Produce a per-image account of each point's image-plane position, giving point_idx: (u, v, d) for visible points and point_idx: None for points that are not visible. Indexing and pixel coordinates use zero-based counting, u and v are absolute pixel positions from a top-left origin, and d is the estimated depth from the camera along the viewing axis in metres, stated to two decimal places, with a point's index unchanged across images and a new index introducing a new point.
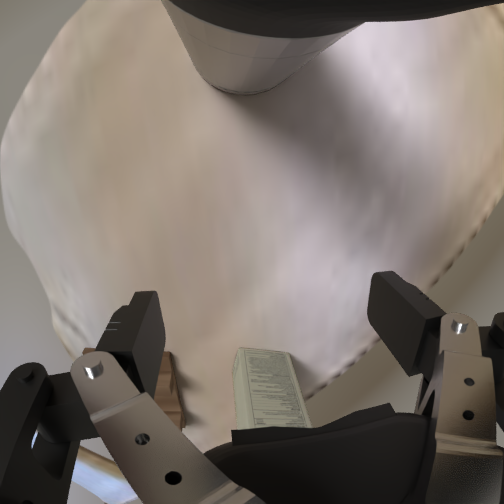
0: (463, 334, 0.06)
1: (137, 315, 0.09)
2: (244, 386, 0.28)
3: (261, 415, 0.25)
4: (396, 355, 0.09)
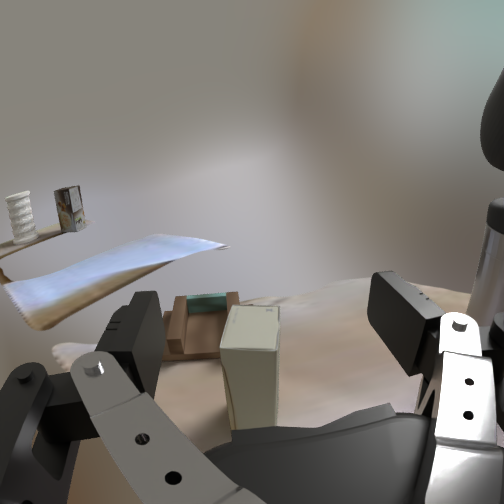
0: (463, 334, 0.06)
1: (137, 315, 0.09)
2: (279, 357, 0.29)
3: None
4: (396, 356, 0.09)
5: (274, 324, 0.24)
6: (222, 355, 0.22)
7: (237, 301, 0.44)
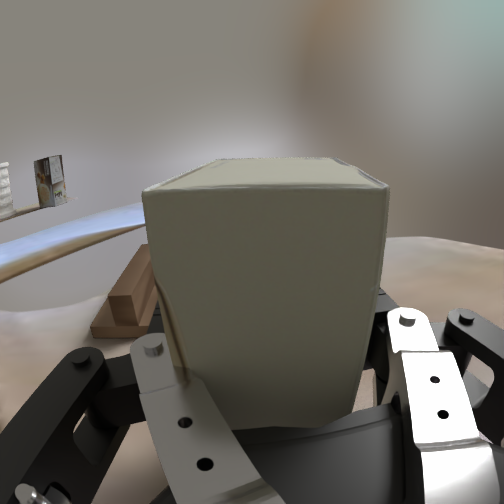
0: (408, 329, 0.07)
1: None
2: None
3: None
4: None
5: (341, 166, 0.07)
6: (152, 232, 0.05)
7: None
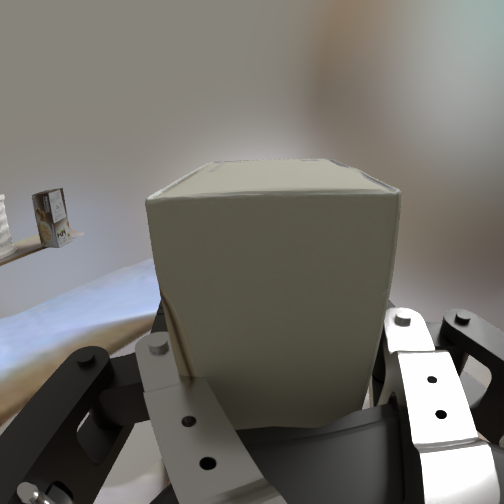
0: (404, 328, 0.07)
1: None
2: None
3: None
4: None
5: (341, 168, 0.07)
6: (158, 242, 0.05)
7: None
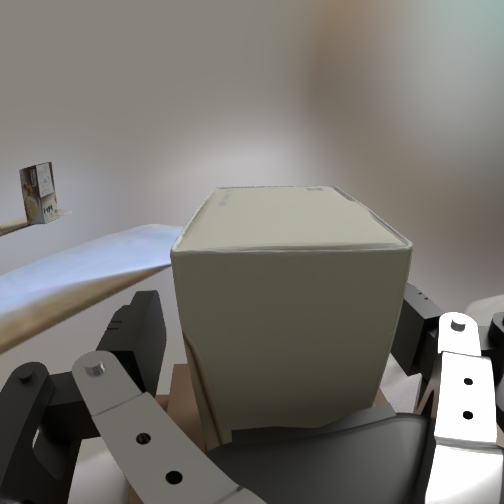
0: (462, 334, 0.06)
1: (138, 315, 0.09)
2: None
3: None
4: (395, 355, 0.09)
5: (349, 204, 0.08)
6: (183, 291, 0.05)
7: None
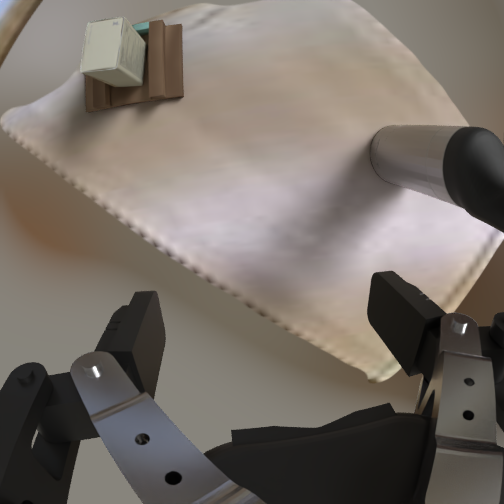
0: (463, 334, 0.06)
1: (137, 315, 0.09)
2: (137, 33, 0.27)
3: (128, 32, 0.24)
4: (396, 356, 0.09)
5: (117, 39, 0.23)
6: (84, 73, 0.24)
7: (160, 39, 0.31)
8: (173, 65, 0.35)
